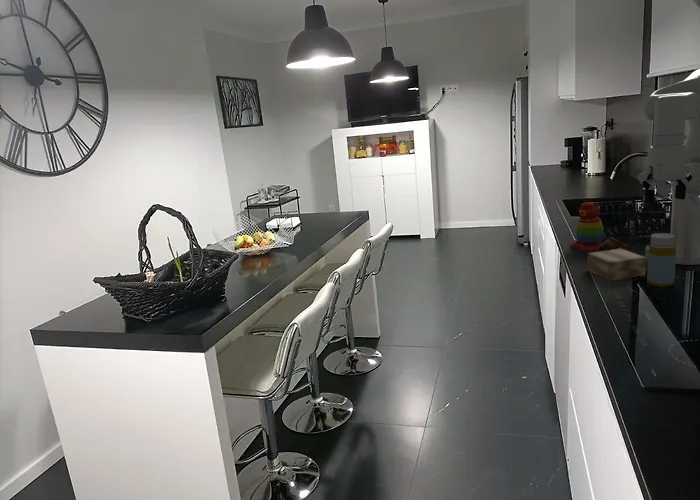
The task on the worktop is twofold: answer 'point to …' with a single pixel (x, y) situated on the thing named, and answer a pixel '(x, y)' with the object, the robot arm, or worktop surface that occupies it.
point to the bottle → (661, 260)
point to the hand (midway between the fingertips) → (664, 200)
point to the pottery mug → (613, 245)
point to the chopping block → (616, 264)
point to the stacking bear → (588, 229)
